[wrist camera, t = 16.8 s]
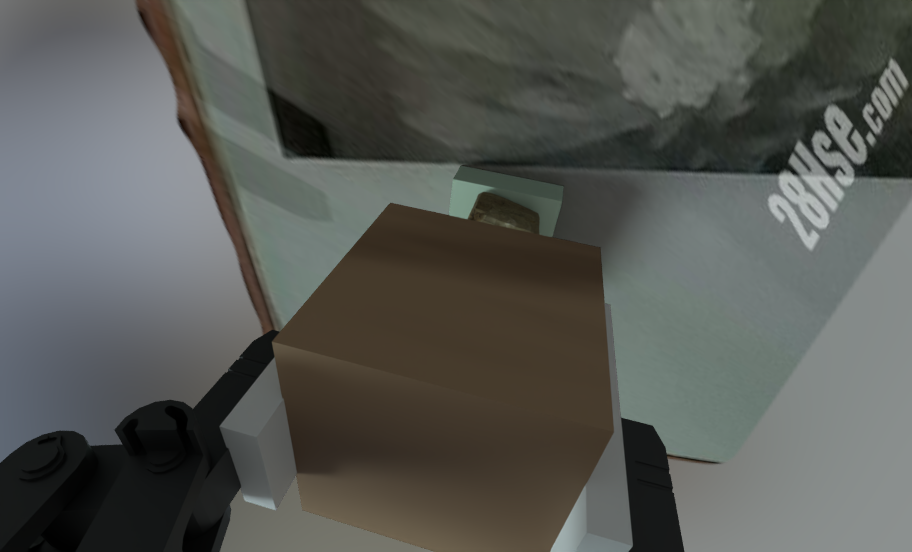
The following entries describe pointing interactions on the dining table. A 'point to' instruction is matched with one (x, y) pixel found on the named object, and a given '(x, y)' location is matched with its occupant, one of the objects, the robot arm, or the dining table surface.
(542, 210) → the base slab
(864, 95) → the dining table surface
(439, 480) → the walnut cube
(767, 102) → the dining table surface
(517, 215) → the stone block
